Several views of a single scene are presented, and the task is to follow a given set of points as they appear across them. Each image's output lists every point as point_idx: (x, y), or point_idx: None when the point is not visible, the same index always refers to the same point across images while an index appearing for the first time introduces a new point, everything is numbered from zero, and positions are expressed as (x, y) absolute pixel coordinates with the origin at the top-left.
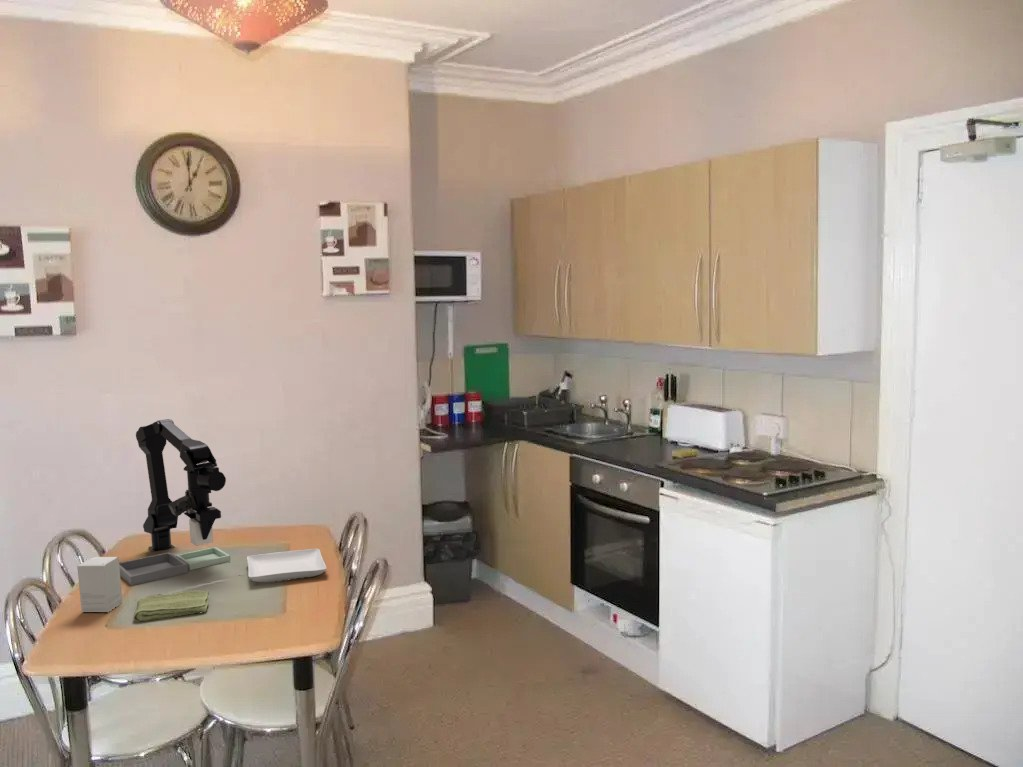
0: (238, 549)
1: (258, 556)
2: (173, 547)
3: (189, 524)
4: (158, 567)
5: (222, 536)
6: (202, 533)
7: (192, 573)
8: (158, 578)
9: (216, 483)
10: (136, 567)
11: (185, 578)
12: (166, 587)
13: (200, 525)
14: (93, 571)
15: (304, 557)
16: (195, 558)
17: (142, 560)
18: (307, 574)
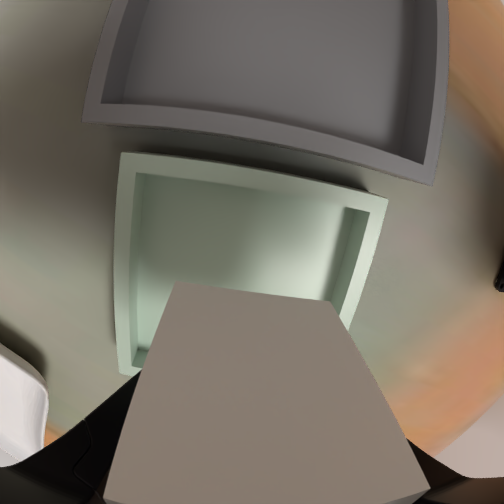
0: None
1: (42, 404)
2: (500, 284)
3: (400, 430)
4: (335, 59)
5: (433, 426)
6: (111, 397)
7: (105, 149)
8: None
9: None
10: (415, 16)
11: (67, 93)
12: (46, 4)
13: (52, 463)
14: None
15: (31, 443)
16: (309, 276)
17: (431, 33)
18: None
